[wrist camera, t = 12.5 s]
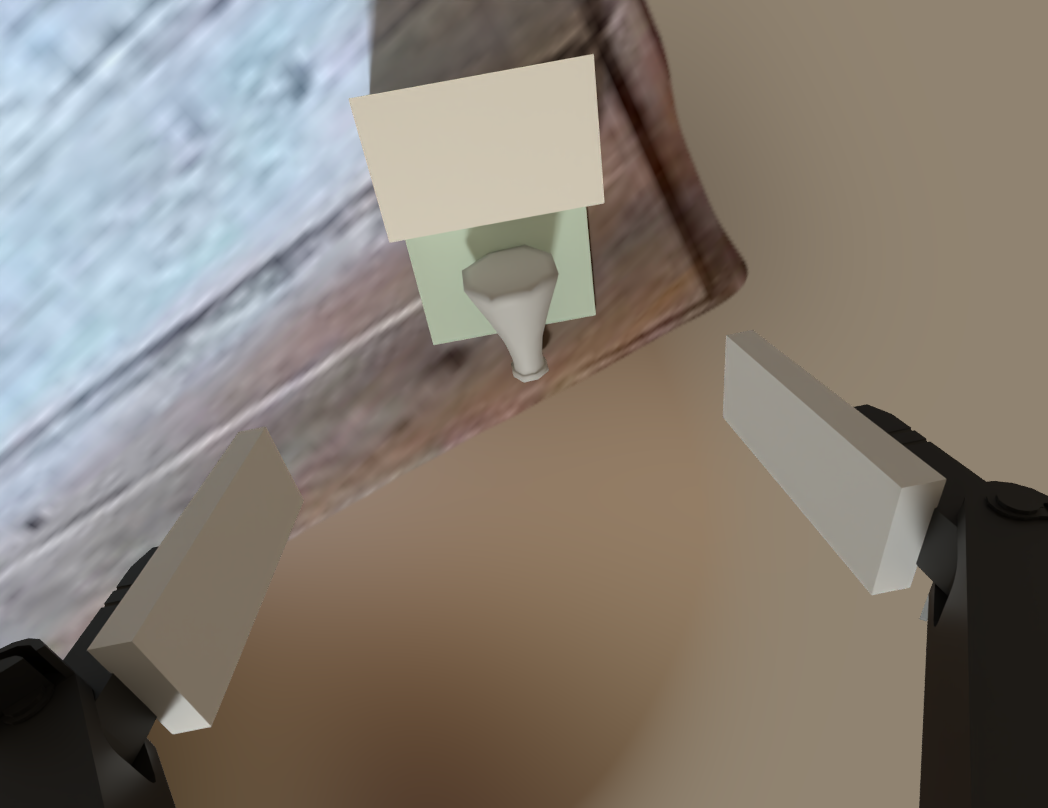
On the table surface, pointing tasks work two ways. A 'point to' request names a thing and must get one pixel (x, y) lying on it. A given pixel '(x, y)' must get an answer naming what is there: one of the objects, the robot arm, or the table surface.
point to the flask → (515, 301)
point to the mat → (456, 250)
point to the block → (483, 148)
